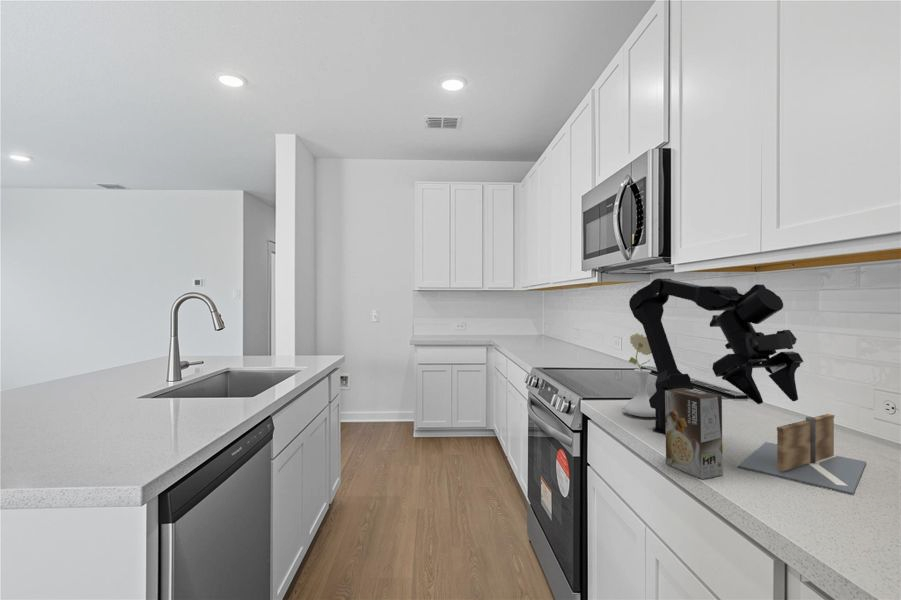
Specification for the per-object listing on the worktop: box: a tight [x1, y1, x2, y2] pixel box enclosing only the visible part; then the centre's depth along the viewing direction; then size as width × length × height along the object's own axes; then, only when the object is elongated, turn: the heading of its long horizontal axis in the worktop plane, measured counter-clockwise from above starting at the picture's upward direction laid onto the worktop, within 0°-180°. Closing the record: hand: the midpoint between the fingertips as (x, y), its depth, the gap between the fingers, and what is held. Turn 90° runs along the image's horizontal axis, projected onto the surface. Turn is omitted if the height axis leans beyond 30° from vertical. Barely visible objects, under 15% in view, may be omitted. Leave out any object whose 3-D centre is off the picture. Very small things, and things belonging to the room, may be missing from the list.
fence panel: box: [776, 420, 811, 471], centre depth 92 cm, size 11×1×9 cm, turn 118°
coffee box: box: [665, 388, 724, 480], centre depth 92 cm, size 9×6×16 cm
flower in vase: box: [622, 332, 655, 418], centre depth 136 cm, size 13×11×25 cm
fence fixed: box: [805, 413, 835, 463], centre depth 97 cm, size 2×10×10 cm, turn 118°
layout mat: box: [737, 441, 867, 496], centre depth 94 cm, size 18×23×1 cm
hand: (778, 402), depth 90 cm, fingers open, 9 cm apart
